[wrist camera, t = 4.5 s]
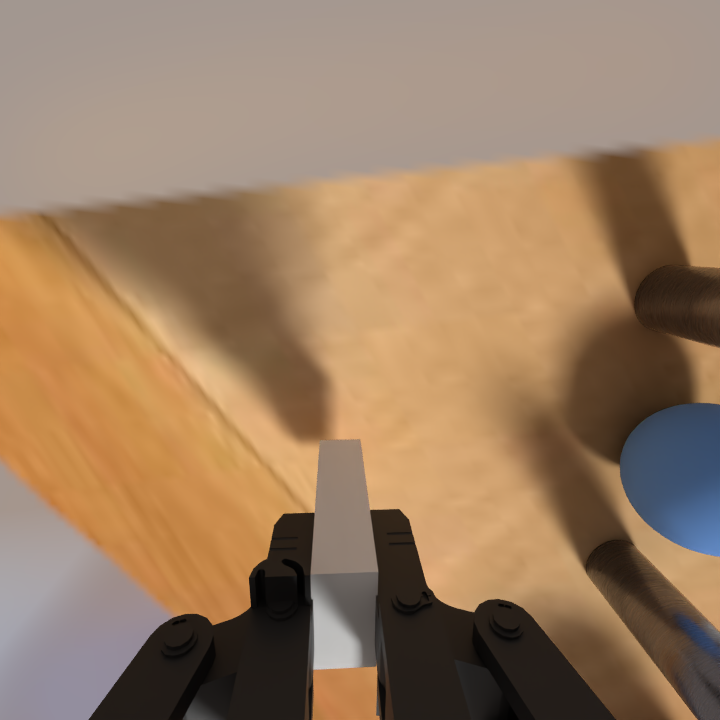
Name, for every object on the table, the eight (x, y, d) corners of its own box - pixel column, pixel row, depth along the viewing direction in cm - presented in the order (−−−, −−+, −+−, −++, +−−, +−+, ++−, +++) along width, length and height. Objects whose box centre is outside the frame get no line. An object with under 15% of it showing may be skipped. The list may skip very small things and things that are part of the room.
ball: (807, 401, 16) (867, 460, 11) (768, 527, 17) (808, 623, 13) (635, 375, 19) (630, 414, 14) (613, 485, 20) (603, 551, 16)
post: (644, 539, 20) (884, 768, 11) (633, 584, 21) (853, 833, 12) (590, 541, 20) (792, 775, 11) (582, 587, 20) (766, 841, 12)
